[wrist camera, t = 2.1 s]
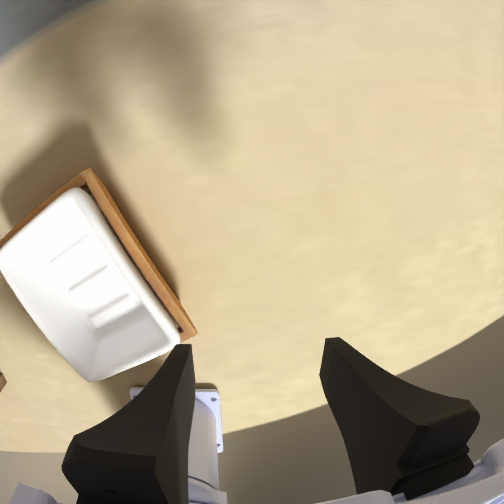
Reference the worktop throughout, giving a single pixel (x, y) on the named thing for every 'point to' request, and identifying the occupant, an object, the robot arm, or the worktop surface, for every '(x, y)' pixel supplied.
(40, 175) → the worktop surface
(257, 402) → the worktop surface
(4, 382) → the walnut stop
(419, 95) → the worktop surface
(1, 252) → the soap dish
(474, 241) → the worktop surface
